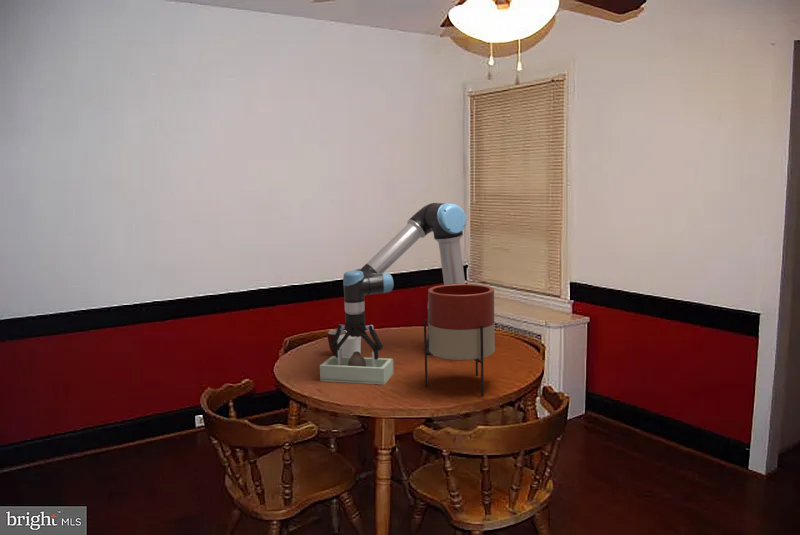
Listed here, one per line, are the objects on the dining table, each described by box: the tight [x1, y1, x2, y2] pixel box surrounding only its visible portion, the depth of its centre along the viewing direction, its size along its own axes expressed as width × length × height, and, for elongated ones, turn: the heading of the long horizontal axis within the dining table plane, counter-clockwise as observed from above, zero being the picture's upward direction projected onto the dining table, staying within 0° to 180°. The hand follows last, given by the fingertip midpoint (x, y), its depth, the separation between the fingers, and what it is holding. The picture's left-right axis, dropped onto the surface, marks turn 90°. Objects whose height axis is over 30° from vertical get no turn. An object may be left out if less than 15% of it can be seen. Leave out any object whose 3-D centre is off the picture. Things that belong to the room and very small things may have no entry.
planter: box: [423, 283, 496, 397], centre depth 226 cm, size 24×25×35 cm
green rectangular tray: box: [319, 355, 394, 385], centre depth 241 cm, size 25×13×6 cm, turn 76°
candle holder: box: [337, 334, 362, 357], centre depth 257 cm, size 10×10×12 cm
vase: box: [348, 352, 366, 367], centre depth 241 cm, size 7×7×9 cm
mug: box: [327, 329, 347, 356], centre depth 273 cm, size 11×8×10 cm
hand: (357, 366), depth 241 cm, fingers open, 13 cm apart
